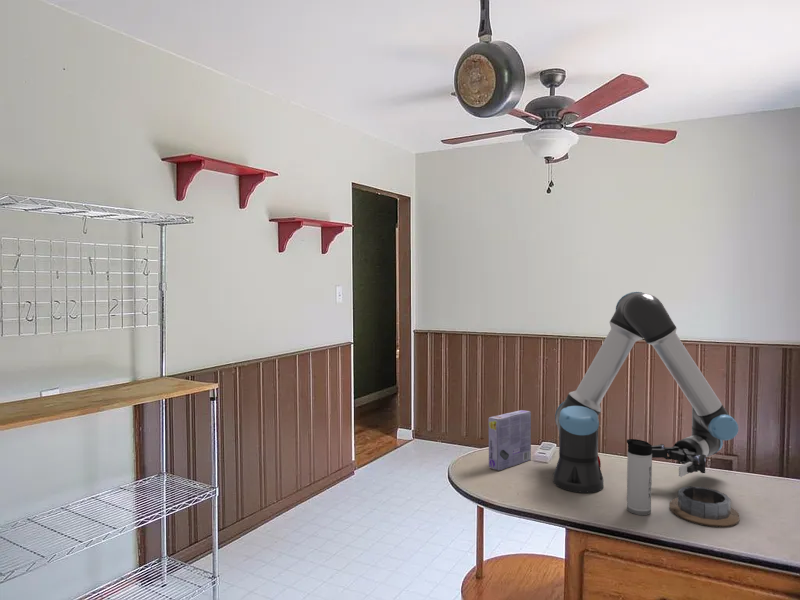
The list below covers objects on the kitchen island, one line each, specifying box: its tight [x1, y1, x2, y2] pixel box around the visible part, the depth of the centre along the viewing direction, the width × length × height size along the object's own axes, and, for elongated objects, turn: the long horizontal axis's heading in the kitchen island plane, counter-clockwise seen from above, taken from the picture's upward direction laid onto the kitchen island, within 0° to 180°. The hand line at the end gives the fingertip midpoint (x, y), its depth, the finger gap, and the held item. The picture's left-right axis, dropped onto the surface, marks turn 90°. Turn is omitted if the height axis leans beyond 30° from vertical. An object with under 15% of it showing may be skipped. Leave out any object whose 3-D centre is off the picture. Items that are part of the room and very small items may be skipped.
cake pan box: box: [488, 409, 532, 472], centre depth 193 cm, size 19×5×18 cm, turn 130°
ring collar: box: [668, 485, 740, 528], centre depth 154 cm, size 17×17×5 cm
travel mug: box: [626, 438, 653, 516], centre depth 155 cm, size 6×7×20 cm
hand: (656, 465), depth 161 cm, fingers open, 13 cm apart
